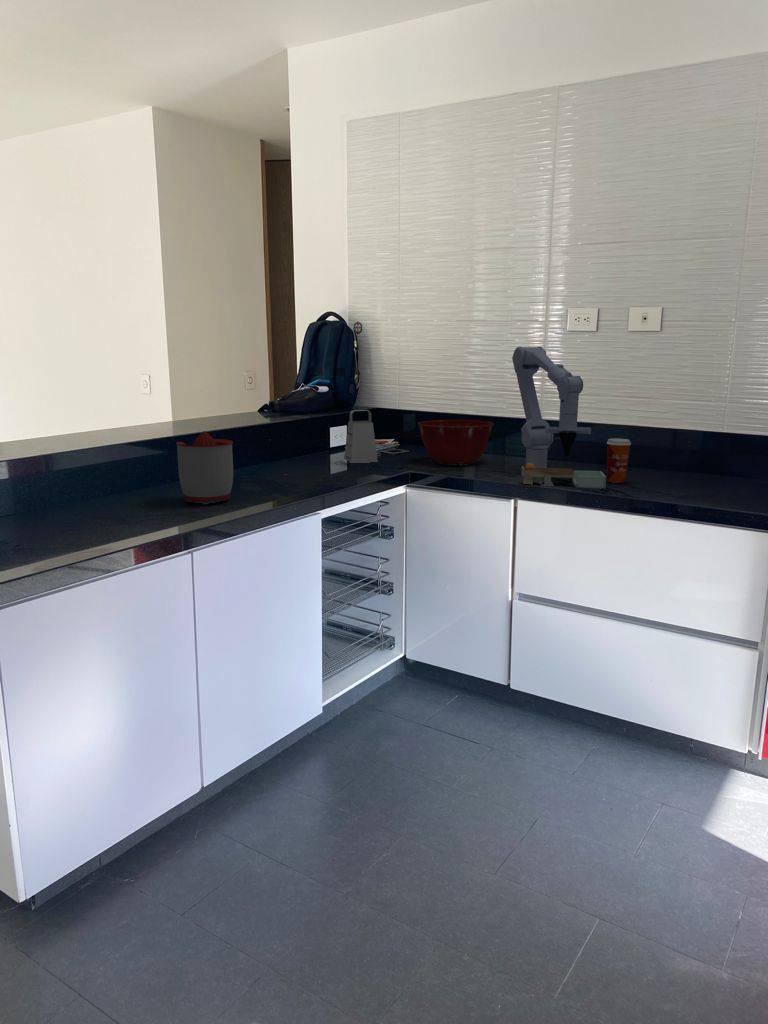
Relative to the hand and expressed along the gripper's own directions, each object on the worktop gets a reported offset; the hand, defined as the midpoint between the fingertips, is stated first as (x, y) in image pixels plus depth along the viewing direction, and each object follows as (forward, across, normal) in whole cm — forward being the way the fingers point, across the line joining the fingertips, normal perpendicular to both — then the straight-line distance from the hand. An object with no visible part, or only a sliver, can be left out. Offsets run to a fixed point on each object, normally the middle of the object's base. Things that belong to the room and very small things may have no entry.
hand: (566, 455), depth 245 cm
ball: (+5, -12, -7) cm, 15 cm away
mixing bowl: (+8, -38, +33) cm, 51 cm away
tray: (+8, +7, -7) cm, 13 cm away
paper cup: (+9, +16, 0) cm, 19 cm away
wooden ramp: (+8, -6, -3) cm, 11 cm away
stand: (+8, -6, -7) cm, 13 cm away
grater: (+8, -72, +26) cm, 78 cm away
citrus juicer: (+9, -106, -48) cm, 116 cm away
